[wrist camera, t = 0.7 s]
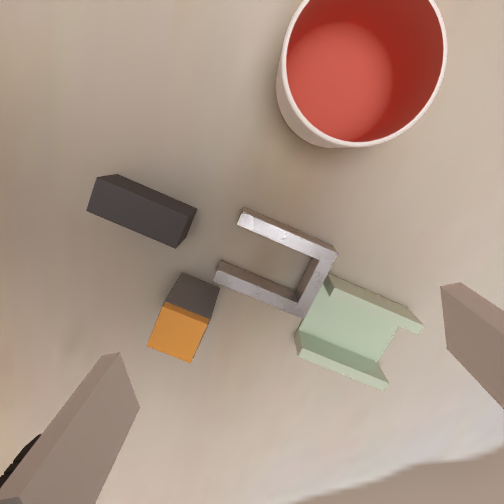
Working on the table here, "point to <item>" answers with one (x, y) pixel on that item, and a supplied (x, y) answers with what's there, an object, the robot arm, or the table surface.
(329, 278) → the end holder
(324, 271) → the clip
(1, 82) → the table surface
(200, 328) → the orange tall block
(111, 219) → the charcoal brick
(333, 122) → the cup
